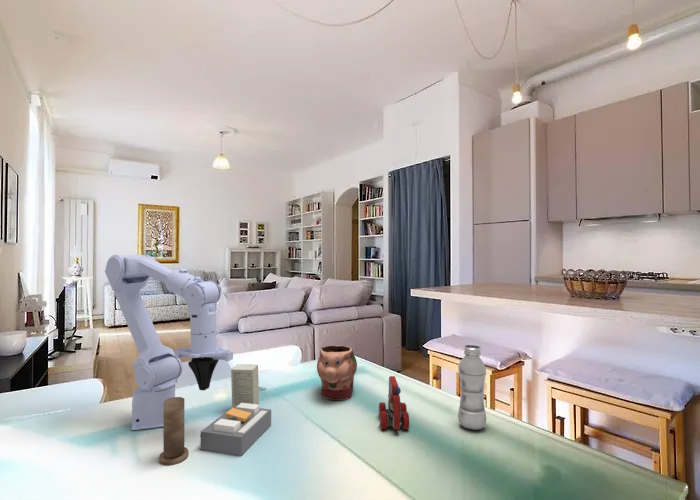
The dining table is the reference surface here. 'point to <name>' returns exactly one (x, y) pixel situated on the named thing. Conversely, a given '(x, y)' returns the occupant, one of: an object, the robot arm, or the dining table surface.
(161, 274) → the robot arm
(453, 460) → the dining table surface
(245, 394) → the skincare box
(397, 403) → the toy fire truck
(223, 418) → the switch box
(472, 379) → the plastic bottle
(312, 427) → the dining table surface
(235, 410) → the breaker paddle
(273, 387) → the dining table surface
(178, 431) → the walnut post
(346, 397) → the decorative planter
